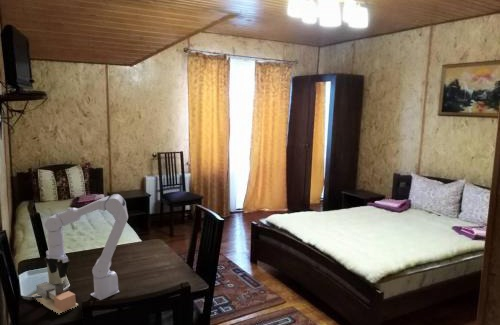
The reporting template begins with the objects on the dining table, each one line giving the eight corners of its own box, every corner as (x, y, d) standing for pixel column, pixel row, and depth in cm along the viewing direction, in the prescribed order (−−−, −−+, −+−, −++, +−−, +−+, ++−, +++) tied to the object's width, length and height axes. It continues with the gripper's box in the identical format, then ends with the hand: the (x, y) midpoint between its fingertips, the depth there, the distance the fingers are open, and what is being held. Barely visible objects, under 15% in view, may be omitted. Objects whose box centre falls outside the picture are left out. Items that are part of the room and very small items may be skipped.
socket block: (69, 301, 156) (68, 290, 156) (75, 305, 153) (75, 294, 153) (54, 307, 152) (54, 296, 151) (61, 311, 149) (60, 300, 148)
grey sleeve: (47, 290, 166) (46, 281, 165) (56, 296, 161) (55, 286, 160) (37, 294, 162) (36, 285, 162) (46, 299, 158) (45, 290, 157)
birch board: (50, 290, 168) (50, 288, 168) (78, 306, 154) (78, 304, 154) (31, 297, 162) (31, 295, 161) (58, 314, 148) (58, 312, 148)
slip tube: (51, 293, 162) (49, 277, 161) (69, 303, 153) (68, 286, 152) (45, 295, 160) (44, 279, 159) (63, 305, 151) (62, 289, 150)
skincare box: (66, 280, 179) (64, 255, 177) (61, 284, 174) (60, 259, 173) (52, 280, 178) (50, 255, 177) (48, 284, 174) (46, 259, 172)
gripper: (37, 242, 159) (40, 273, 161) (55, 250, 151) (57, 282, 152) (54, 238, 165) (56, 268, 167) (72, 245, 156) (74, 276, 158)
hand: (58, 274), depth 160 cm, fingers open, 7 cm apart
